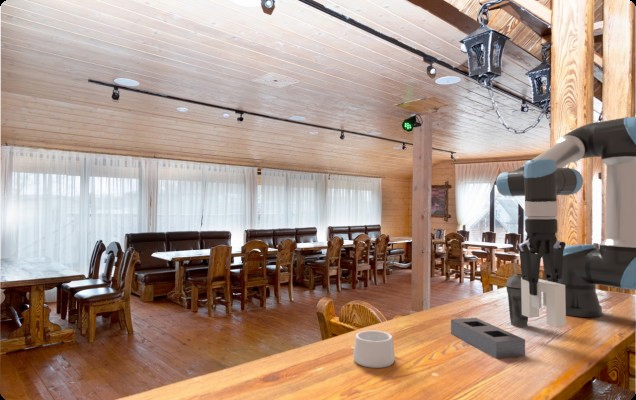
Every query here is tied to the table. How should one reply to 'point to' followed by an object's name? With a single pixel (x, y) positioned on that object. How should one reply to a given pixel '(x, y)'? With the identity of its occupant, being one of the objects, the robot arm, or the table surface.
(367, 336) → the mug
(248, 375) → the table surface
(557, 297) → the white arch
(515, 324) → the beverage cup
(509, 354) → the cinder block
